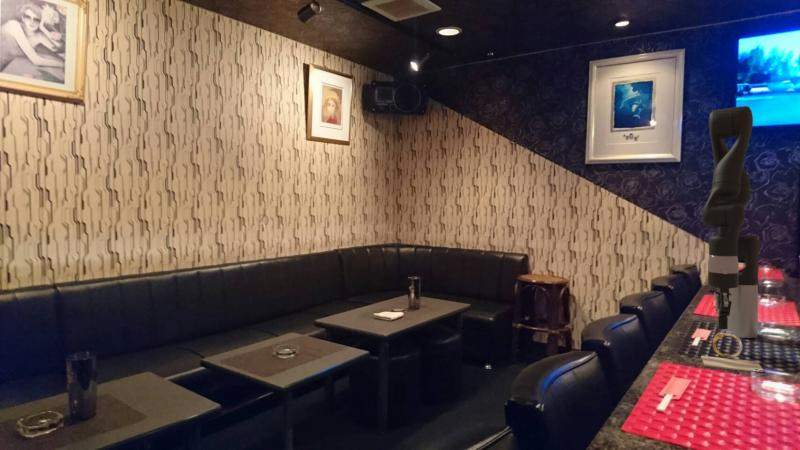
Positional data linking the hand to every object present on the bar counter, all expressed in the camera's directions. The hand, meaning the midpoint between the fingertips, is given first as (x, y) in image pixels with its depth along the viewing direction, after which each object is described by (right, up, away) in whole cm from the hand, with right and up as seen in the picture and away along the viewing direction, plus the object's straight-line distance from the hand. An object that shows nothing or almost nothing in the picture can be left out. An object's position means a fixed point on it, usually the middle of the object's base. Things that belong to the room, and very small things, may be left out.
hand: (722, 328), depth 143 cm
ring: (-3, -7, -7) cm, 10 cm away
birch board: (-6, -7, -13) cm, 16 cm away
